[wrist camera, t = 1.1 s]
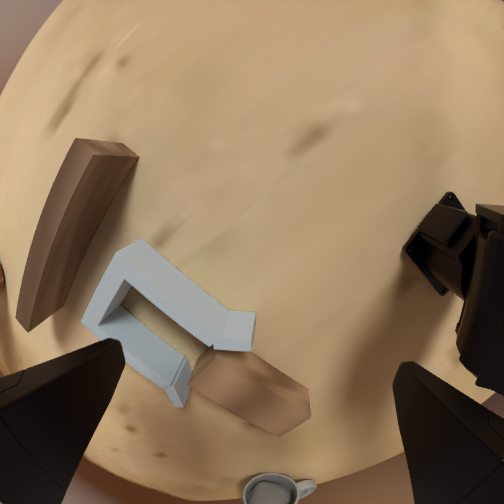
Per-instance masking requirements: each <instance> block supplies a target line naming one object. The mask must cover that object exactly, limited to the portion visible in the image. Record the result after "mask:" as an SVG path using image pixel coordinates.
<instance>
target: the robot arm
mask: <svg viewBox="0 0 504 504" xmlns="http://www.w3.org/2000/svg"><path fill="white" fill-rule="evenodd" d="M450 196H451V200H449V197H450ZM476 213H477V216H476V215H473V214H469V213H468V212H467V211H465V209H464V207H463V206H462V204H461V203H460V201H459V200H458V198H457V197H456V195H455V194H454V193H453V192H447V193H446V194H445V195H444V196H443V198H442V199H441V200H440V202H439V203H438V204H435V206H434V207H433V208H432V210H431V211H430V212H429V213H428V215H427V216H426V217H425V218H424V220H423V221H422V222H421V223H420V225H419V226H418V229H417V231H416V232H415V233H414V234H413V235H412V237H411V238H410V239H409V240H408V241H407V243H406V244H405V245H404V251H405V253H406V254H407V255H408V256H409V258H410V259H411V260H412V261H413V262H414V264H415V265H416V266H417V267H418V268H419V270H420V271H421V272H422V273H423V275H424V276H425V277H426V278H427V280H428V281H429V282H430V283H431V285H432V286H433V287H434V289H435V290H436V291H437V292H438V293H439V294H440V295H441V296H443V295H445V294H446V293H447V292H448V291H449V289H450V290H451V291H452V292H453V293H455V294H456V295H457V296H458V297H460V298H461V299H462V300H463V301H464V304H463V308H462V312H461V316H460V320H459V322H458V323H457V326H456V329H455V331H456V334H457V339H456V345H457V348H458V351H459V353H460V357H459V360H460V362H461V363H462V365H463V366H464V367H465V368H466V369H467V370H468V371H469V372H470V373H472V374H473V375H474V376H475V377H477V380H476V382H475V384H476V385H477V386H479V387H483V388H487V389H491V390H493V391H495V392H497V393H499V394H501V395H503V396H504V206H498V205H485V204H476ZM410 246H412V249H411V250H410V251H409V247H410ZM442 288H443V290H442ZM441 290H442V291H441ZM124 367H125V356H124V352H123V348H122V344H121V342H120V341H119V340H117V339H113V338H107V339H104V340H102V341H99V342H96V343H94V344H91V345H89V346H86V347H84V348H81V349H78V350H76V351H73V352H70V353H68V354H65V355H63V356H60V357H57V358H55V359H52V360H49V361H46V362H44V363H41V364H38V365H36V366H33V367H30V368H27V369H26V370H22V371H19V372H16V373H13V374H10V375H7V376H4V377H1V378H0V504H61V503H62V501H63V498H64V496H65V494H66V491H67V489H68V487H69V484H70V482H71V480H72V478H73V476H74V473H75V471H76V469H77V467H78V465H79V463H80V460H81V459H82V457H83V454H84V452H85V450H86V448H87V446H88V444H89V442H90V440H91V438H92V436H93V434H94V432H95V430H96V428H97V426H98V424H99V422H100V420H101V419H102V417H103V415H104V413H105V411H106V409H107V407H108V405H109V403H110V401H111V399H112V397H113V394H114V392H115V389H116V387H117V384H118V382H119V379H120V377H121V374H122V372H123V369H124ZM393 393H394V399H395V406H396V412H397V419H398V425H399V430H400V434H401V438H402V442H403V446H404V451H405V455H406V459H407V464H408V469H409V474H410V479H411V484H412V490H413V496H414V502H415V504H504V419H503V418H501V417H500V416H498V415H496V414H495V413H493V412H492V411H490V410H488V409H487V408H485V407H484V406H482V405H481V404H479V403H478V402H476V401H474V400H473V399H471V398H470V397H468V396H467V395H465V394H463V393H462V392H460V391H459V390H457V389H456V388H454V387H453V386H451V385H449V384H448V383H446V382H445V381H443V380H442V379H440V378H438V377H437V376H435V375H434V374H432V373H431V372H429V371H428V370H426V369H424V368H423V367H421V366H420V365H418V364H417V363H415V362H413V361H408V362H402V363H401V364H400V366H399V368H398V371H397V373H396V376H395V378H394V381H393Z"/></svg>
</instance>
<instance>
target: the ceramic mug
mask: <svg viewBox="0 0 504 504" xmlns="http://www.w3.org/2000/svg"><path fill="white" fill-rule="evenodd" d="M316 488H317V485H316V484H315V483H314V481H313V480H310V479H309V480H304V481H301V482H297V483H295V482H294V481H293V480H292V479H291V478H289V477H288V476H285V475H282V474H278V473H265V474H261V475H258V476H256V477H254V478H252V479H251V480H250V481H249V482H248V483H247V484H246V485H245V487H244V489H243V494H242V499H243V504H297V503H298V500H299V499H301V498H303V497H305V496H307V495H309V494H311V493H312V492H313V491H314V490H315V489H316Z"/></svg>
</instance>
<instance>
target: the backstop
mask: <svg viewBox="0 0 504 504" xmlns="http://www.w3.org/2000/svg"><path fill="white" fill-rule="evenodd" d="M138 158H139V156H137V155H136V154H135V153H134V152H133V151H131V150H130V149H129V148H128V147H127V146H125V145H124V144H123V143H115V142H107V141H99V140H90V139H80V138H75V140H74V142H73V144H72V145H71V147H70V149H69V151H68V153H67V155H66V157H65V159H64V161H63V163H62V165H61V168H60V170H59V172H58V174H57V176H56V179H55V181H54V183H53V185H52V188H51V190H50V193H49V195H48V198H47V200H46V203H45V205H44V208H43V211H42V213H41V216H40V219H39V222H38V225H37V228H36V231H35V234H34V237H33V241H32V244H31V247H30V251H29V255H28V258H27V262H26V266H25V270H24V274H23V279H22V284H21V288H20V294H19V299H18V305H17V311H16V319H17V320H18V322H19V323H20V324H21V325H22V326H23V328H24V329H25V330H26V331H27V332H30V331H31V330H32V329H33V328H35V327H36V326H37V325H39V324H40V323H41V322H43V321H44V320H45V319H47V318H48V317H49V316H51V315H52V314H53V313H55V312H56V311H57V310H59V309H60V308H61V307H63V305H64V302H65V299H66V297H67V294H68V292H69V289H70V287H71V284H72V282H73V279H74V277H75V275H76V272H77V270H78V268H79V265H80V263H81V261H82V259H83V257H84V254H85V252H86V250H87V248H88V246H89V244H90V242H91V240H92V238H93V236H94V234H95V232H96V230H97V228H98V226H99V224H100V222H101V220H102V218H103V217H104V215H105V213H106V211H107V209H108V207H109V206H110V204H111V202H112V200H113V199H114V197H115V195H116V193H117V192H118V190H119V188H120V187H121V185H122V183H123V182H124V180H125V178H126V177H127V175H128V174H129V172H130V170H131V169H132V167H133V166H134V164H135V163H136V161H137V160H138Z"/></svg>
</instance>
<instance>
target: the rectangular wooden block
mask: <svg viewBox="0 0 504 504" xmlns="http://www.w3.org/2000/svg"><path fill="white" fill-rule="evenodd" d="M187 386H189V387H190V388H192V389H194V390H195V391H197V392H198V393H200V394H201V395H203V396H205V397H206V398H208V399H210V400H211V401H213V402H215V403H216V404H218V405H220V406H221V407H223V408H225V409H227V410H228V411H230V412H232V413H234V414H235V415H237V416H239V417H241V418H243V419H245V420H247V421H248V422H250V423H252V424H254V425H256V426H258V427H260V428H262V429H264V430H266V431H268V432H270V433H272V434H275V435H277V436H281V435H283V434H285V433H286V432H288V431H290V430H291V429H293V428H295V427H296V426H298V425H300V424H301V423H303V422H304V421H306V420H308V419H309V418H311V411H310V401H309V391H308V388H306V387H305V386H303V385H301V384H300V383H298V382H297V381H295V380H293V379H292V378H290V377H289V376H287V375H285V374H284V373H282V372H281V371H279V370H278V369H276V368H275V367H273V366H272V365H270V364H269V363H267V362H265V361H264V360H262V359H261V358H260V357H258V356H257V355H255V354H254V353H252V352H248V351H231V350H217V349H214V346H213V344H212V345H211V346H210V347H208V348H207V349H206V350H205V351H204V352H203V353H202V354H201V355H200V356H199V357H198V359H197V361H196V364H195V366H194V369H193V371H192V374H191V376H190V378H189V381H188V383H187Z"/></svg>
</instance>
